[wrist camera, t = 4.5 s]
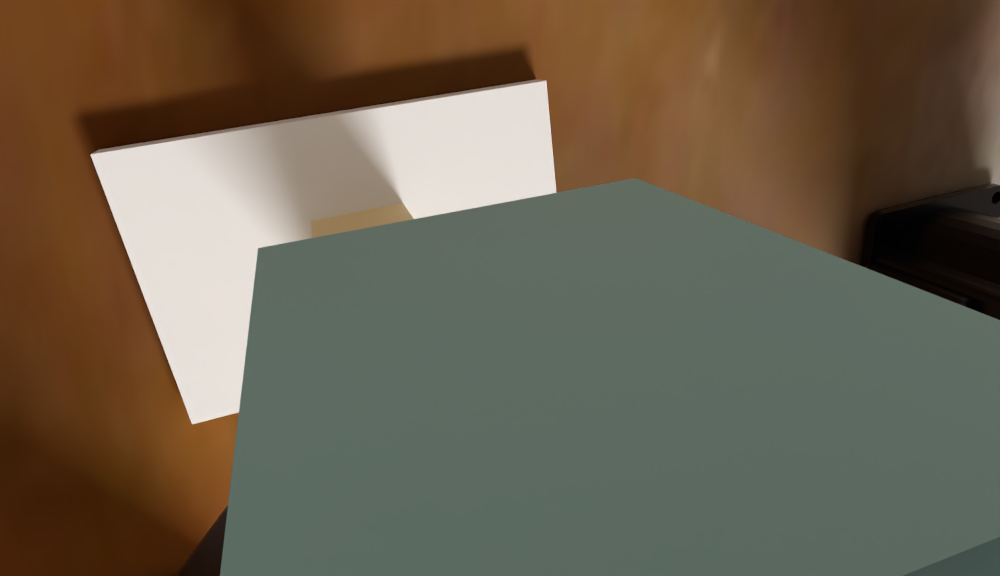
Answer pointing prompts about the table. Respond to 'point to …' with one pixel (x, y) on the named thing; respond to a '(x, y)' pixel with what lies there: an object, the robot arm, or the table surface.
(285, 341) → the teal rectangular block
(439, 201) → the post stand
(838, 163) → the table surface
